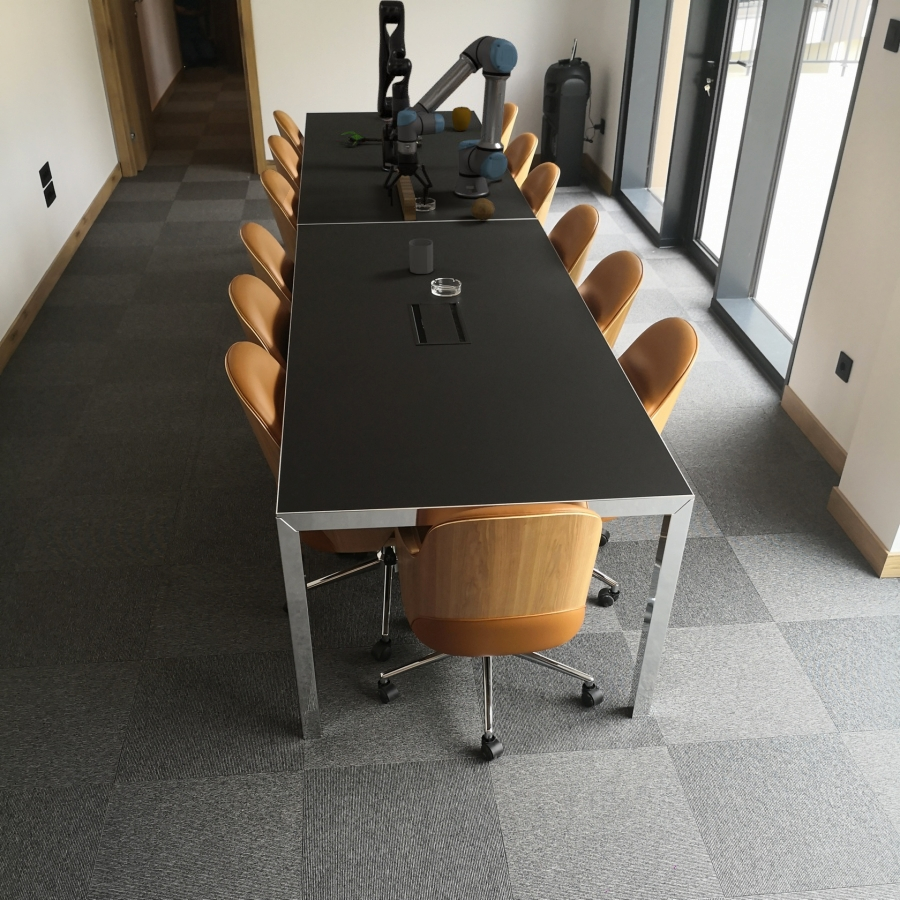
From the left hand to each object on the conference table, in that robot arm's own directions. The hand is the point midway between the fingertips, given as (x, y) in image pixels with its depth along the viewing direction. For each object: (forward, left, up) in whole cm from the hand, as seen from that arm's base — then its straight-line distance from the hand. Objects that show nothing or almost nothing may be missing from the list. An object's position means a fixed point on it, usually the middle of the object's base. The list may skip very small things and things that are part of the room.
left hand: (401, 147), depth 382 cm
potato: (+20, +51, -19) cm, 58 cm away
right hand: (+30, +21, -14) cm, 40 cm away
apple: (-115, -33, -19) cm, 122 cm away
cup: (+81, +59, -19) cm, 102 cm away
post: (+15, +11, -19) cm, 26 cm away
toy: (-114, -76, -19) cm, 138 cm away
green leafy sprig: (-62, -61, -19) cm, 89 cm away
